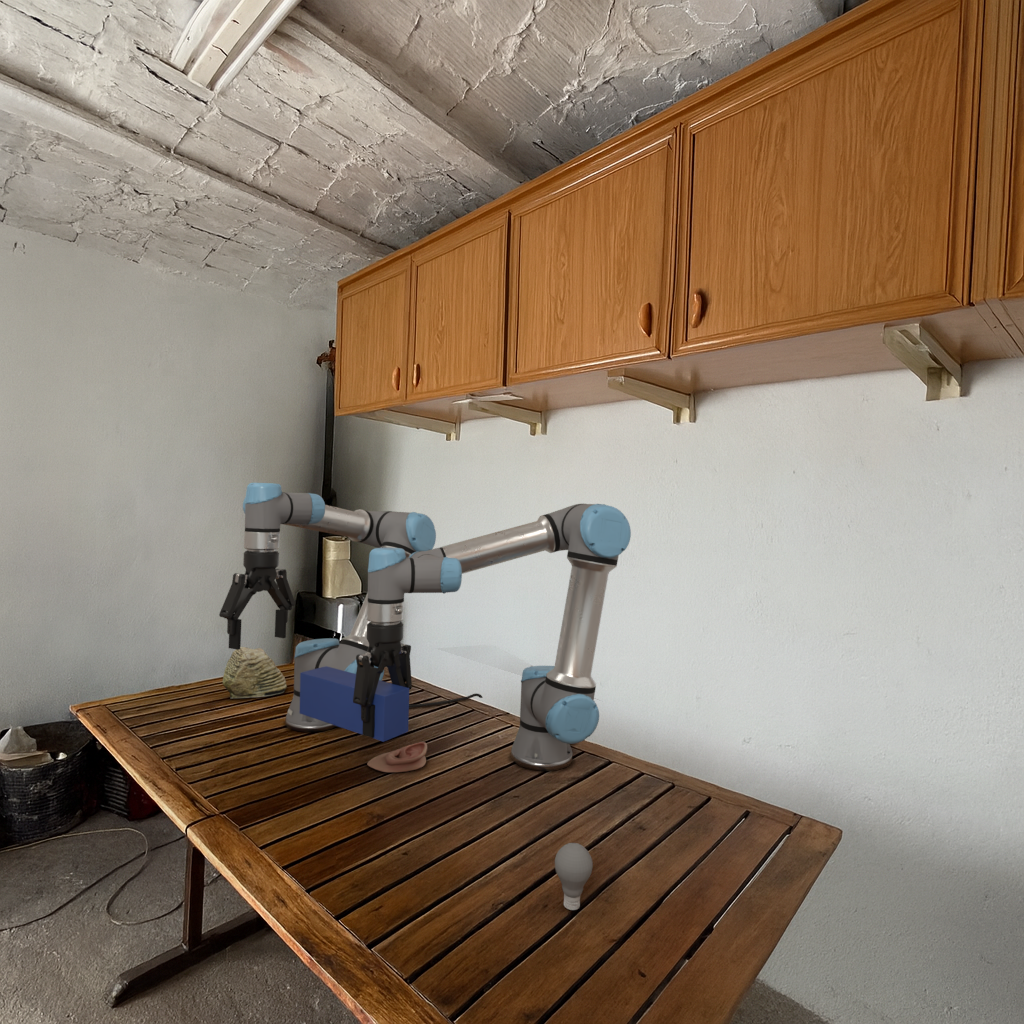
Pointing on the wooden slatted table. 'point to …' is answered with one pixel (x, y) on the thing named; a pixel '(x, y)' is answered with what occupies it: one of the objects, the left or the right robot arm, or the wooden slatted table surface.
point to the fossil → (252, 674)
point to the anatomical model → (401, 759)
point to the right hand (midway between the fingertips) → (382, 730)
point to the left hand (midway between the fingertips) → (258, 642)
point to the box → (333, 702)
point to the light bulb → (573, 872)
